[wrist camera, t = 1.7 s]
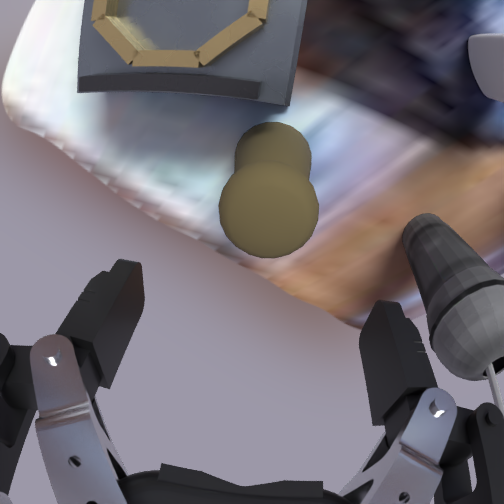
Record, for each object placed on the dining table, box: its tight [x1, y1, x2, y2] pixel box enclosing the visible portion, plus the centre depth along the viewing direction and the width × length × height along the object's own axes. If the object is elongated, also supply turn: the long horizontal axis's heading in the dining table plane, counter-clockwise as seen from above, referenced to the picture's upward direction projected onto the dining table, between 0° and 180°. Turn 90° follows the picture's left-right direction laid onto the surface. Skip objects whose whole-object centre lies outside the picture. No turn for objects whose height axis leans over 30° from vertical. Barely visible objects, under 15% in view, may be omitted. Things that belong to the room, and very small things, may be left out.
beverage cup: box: [402, 213, 504, 416], centre depth 18 cm, size 7×7×20 cm
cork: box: [218, 122, 319, 258], centre depth 20 cm, size 6×6×11 cm
